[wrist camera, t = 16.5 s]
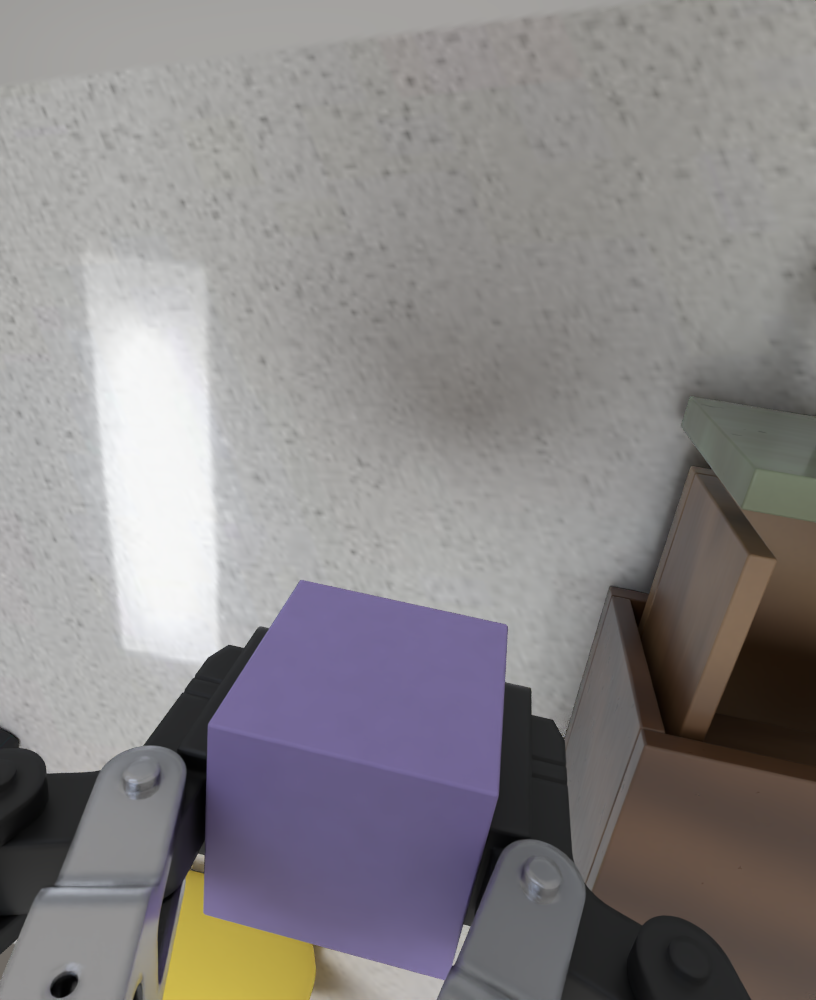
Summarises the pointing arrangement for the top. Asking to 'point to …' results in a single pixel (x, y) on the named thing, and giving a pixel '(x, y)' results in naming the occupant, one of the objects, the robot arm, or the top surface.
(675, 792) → the cabinet
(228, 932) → the teapot
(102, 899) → the robot arm
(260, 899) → the lavender cube
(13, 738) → the smart home device
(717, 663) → the drawer
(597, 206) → the top surface
